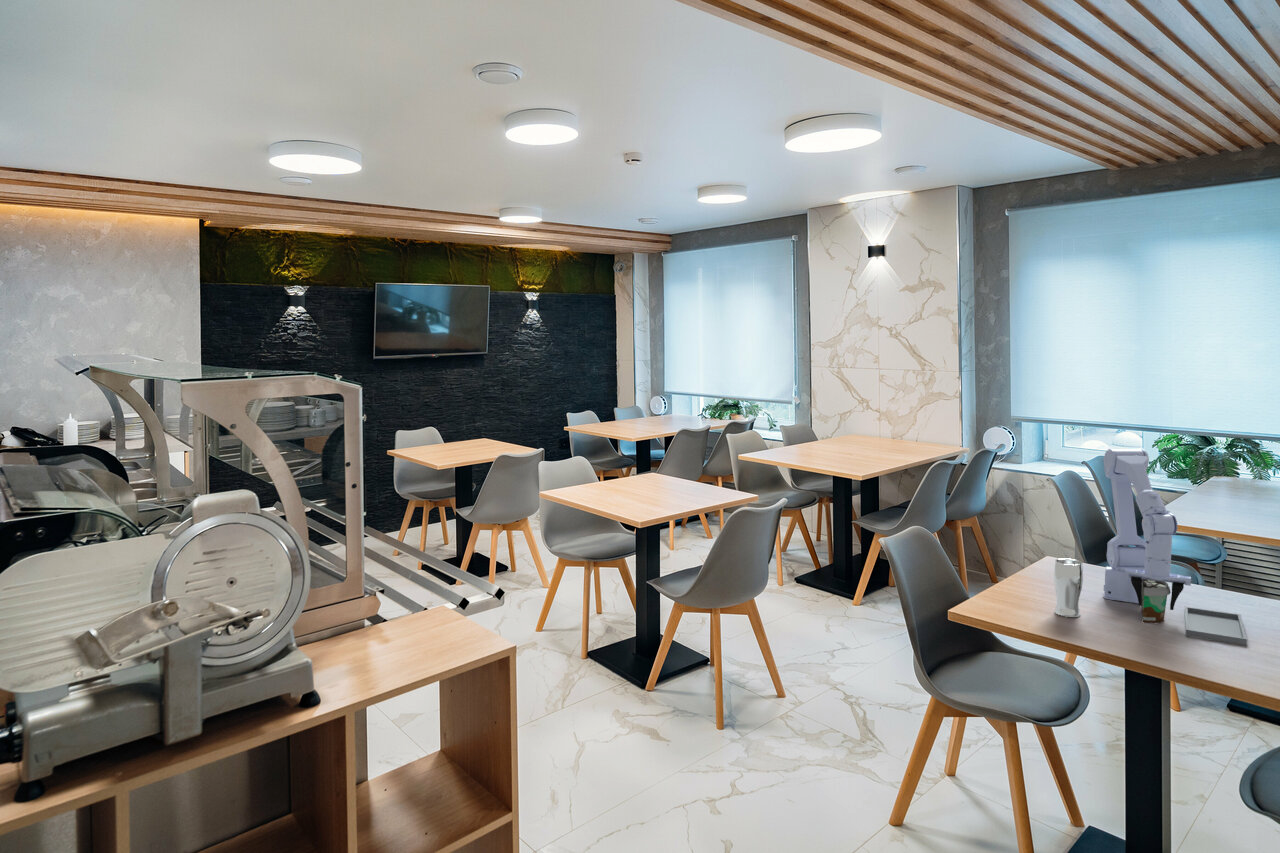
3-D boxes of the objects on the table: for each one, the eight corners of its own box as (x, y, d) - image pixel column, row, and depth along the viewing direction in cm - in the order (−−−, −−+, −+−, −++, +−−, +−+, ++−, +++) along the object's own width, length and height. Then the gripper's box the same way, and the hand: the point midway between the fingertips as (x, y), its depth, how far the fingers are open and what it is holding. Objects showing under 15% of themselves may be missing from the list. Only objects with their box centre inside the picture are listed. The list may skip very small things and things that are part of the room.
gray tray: (1185, 635, 187) (1186, 629, 187) (1184, 612, 203) (1184, 606, 203) (1246, 645, 180) (1246, 639, 180) (1240, 620, 196) (1240, 614, 196)
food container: (1171, 628, 192) (1172, 591, 191) (1142, 624, 195) (1144, 588, 194) (1167, 613, 202) (1168, 578, 201) (1140, 610, 206) (1141, 575, 205)
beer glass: (1080, 611, 206) (1081, 559, 204) (1083, 619, 199) (1085, 566, 198) (1051, 608, 209) (1053, 557, 207) (1054, 616, 202) (1055, 563, 201)
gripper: (1124, 557, 198) (1123, 606, 200) (1191, 565, 190) (1189, 616, 191) (1126, 551, 204) (1124, 598, 205) (1191, 558, 195) (1188, 608, 197)
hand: (1155, 606), depth 199 cm, fingers open, 6 cm apart
